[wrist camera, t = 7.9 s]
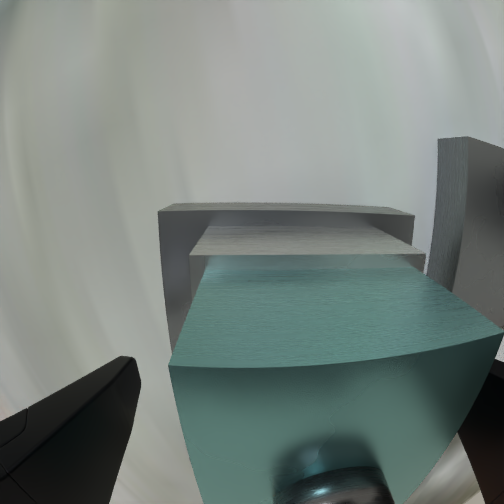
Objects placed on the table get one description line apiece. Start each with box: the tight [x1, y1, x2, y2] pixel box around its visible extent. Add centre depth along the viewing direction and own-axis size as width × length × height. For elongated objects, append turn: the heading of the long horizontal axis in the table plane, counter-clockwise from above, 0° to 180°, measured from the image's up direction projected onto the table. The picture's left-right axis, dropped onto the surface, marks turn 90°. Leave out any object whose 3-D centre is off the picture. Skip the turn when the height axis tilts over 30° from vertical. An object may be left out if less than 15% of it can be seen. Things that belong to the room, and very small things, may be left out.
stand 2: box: [427, 136, 504, 327], centre depth 10 cm, size 8×8×2 cm
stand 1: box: [158, 203, 415, 354], centre depth 10 cm, size 8×8×2 cm
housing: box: [168, 226, 504, 504], centre depth 6 cm, size 7×5×7 cm
